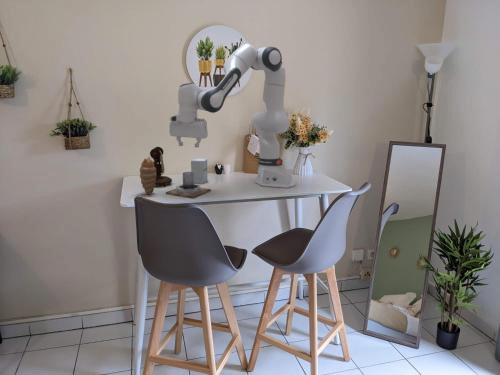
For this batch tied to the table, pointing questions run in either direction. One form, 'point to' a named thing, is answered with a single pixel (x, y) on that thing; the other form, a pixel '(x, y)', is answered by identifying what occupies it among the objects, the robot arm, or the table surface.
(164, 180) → the dark brown tall piece
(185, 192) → the ring board
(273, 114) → the robot arm
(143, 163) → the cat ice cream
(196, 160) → the supplement box
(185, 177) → the piston
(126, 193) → the table surface
